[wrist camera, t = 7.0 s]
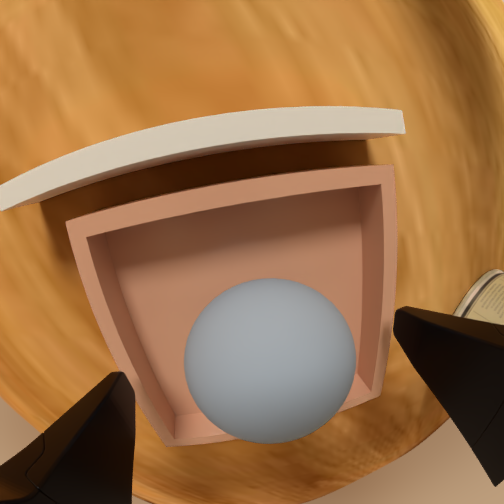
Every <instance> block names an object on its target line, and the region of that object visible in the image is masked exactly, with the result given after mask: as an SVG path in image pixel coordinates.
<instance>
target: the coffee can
mask: <svg viewBox="0 0 504 504" xmlns="http://www.w3.org/2000/svg"><path fill="white" fill-rule="evenodd" d="M453 316H459V317H464V318H469V319H474V320H479V321H485V322H490V323H496V324H501V325H504V272H503V271H502V270H499V269H494V270H491V271H489V272H487V273H485V274H484V275H483V276H482V277H481V278H480V279H479V280H478V281H477V282H476V283H475V284H474V285H473V286H472V287H471V288H470V290H469V291H468V293H467V294H466V295H465V297H464V298H463V300H462V301H461V303H460V304H459V306H458V308H457V309H456V311H455V312H454V314H453Z"/></svg>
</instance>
